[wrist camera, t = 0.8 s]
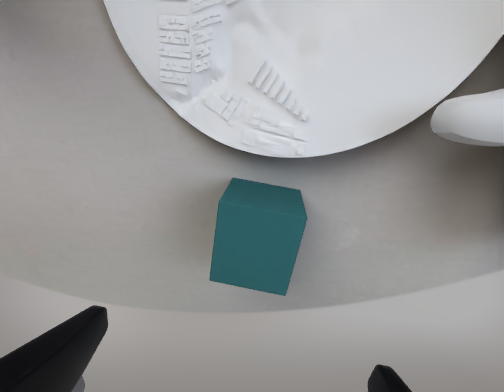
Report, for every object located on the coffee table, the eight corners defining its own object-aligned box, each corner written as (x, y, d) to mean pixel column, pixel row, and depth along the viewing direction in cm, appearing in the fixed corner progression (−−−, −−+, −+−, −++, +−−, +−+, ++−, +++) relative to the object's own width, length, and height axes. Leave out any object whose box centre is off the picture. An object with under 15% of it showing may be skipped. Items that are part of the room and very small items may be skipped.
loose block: (284, 254, 17) (285, 296, 14) (223, 242, 17) (209, 280, 14) (300, 190, 15) (307, 217, 12) (232, 177, 16) (218, 200, 12)
